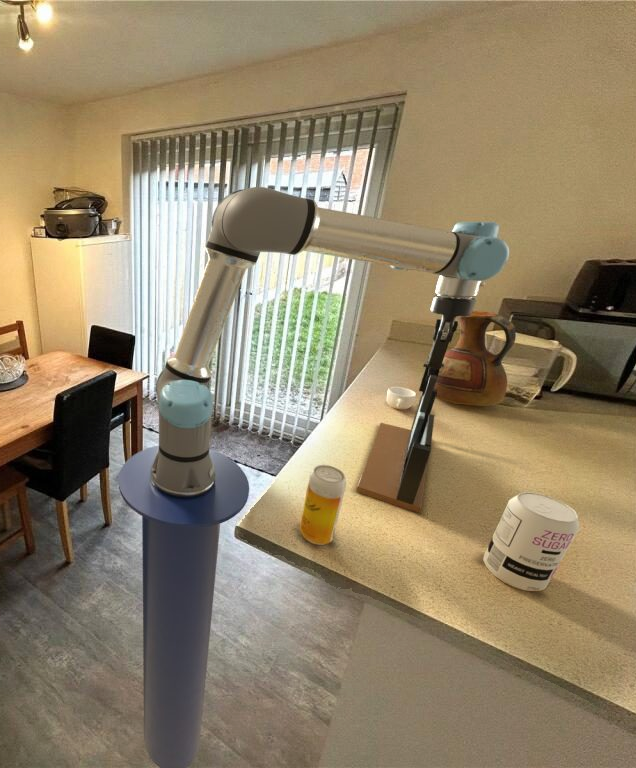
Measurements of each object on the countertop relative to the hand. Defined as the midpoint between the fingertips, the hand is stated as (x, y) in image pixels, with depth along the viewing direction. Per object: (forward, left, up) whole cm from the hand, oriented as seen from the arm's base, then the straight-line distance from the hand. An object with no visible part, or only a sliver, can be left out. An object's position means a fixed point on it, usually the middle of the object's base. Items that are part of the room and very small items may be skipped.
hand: (425, 391), depth 97 cm
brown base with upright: (-2, -7, -18) cm, 19 cm away
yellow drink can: (-12, -45, -18) cm, 50 cm away
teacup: (-5, +29, -18) cm, 34 cm away
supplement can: (+18, -34, -18) cm, 43 cm away
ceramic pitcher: (+11, +47, -18) cm, 51 cm away
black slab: (0, -1, -15) cm, 15 cm away
